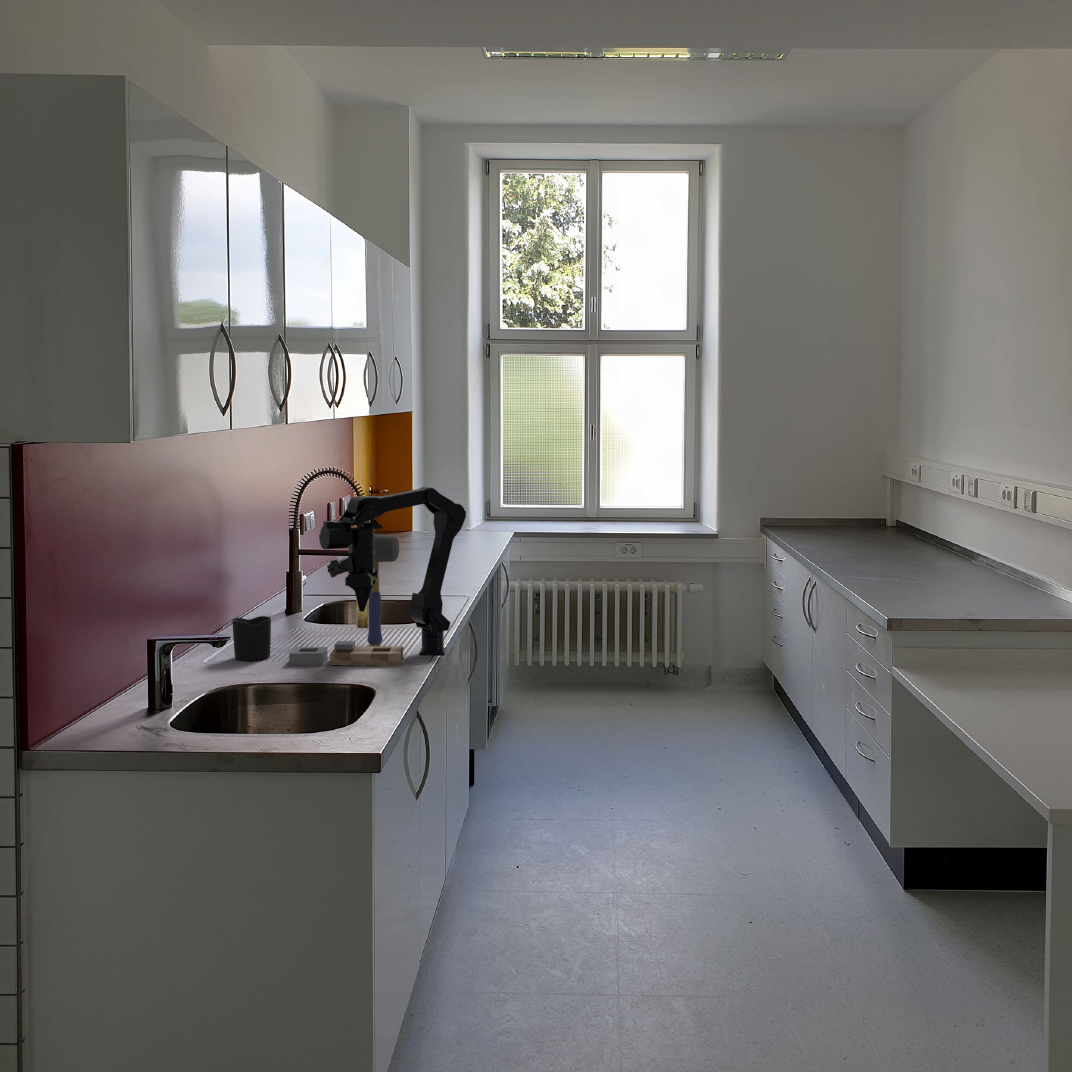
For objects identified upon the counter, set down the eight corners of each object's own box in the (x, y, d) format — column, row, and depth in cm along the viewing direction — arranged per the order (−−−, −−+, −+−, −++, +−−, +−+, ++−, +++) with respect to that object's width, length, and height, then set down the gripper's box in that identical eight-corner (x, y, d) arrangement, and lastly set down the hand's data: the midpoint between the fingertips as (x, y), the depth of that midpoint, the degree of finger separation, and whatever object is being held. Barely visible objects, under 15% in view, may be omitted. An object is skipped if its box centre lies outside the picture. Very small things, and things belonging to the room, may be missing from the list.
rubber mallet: (347, 647, 282) (346, 534, 279) (358, 641, 289) (356, 532, 286) (392, 649, 279) (391, 536, 276) (401, 643, 286) (400, 533, 283)
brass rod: (357, 626, 264) (357, 594, 264) (369, 626, 265) (369, 594, 264) (355, 628, 261) (355, 596, 261) (368, 628, 262) (368, 596, 261)
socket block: (335, 658, 268) (335, 646, 268) (403, 657, 269) (403, 646, 269) (330, 665, 259) (329, 653, 259) (399, 665, 260) (399, 653, 260)
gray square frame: (295, 658, 268) (295, 646, 267) (327, 658, 268) (327, 646, 268) (289, 665, 260) (289, 653, 259) (322, 665, 260) (322, 653, 260)
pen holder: (246, 653, 274) (246, 614, 273) (278, 655, 271) (278, 616, 270) (225, 660, 265) (224, 621, 264) (258, 663, 262) (257, 623, 261)
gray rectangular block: (337, 659, 266) (337, 640, 266) (355, 658, 266) (355, 640, 266) (334, 662, 262) (334, 644, 261) (352, 662, 262) (352, 644, 261)
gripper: (334, 543, 270) (335, 604, 272) (323, 551, 252) (324, 616, 253) (378, 543, 271) (379, 604, 272) (370, 551, 252) (371, 616, 253)
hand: (362, 610), depth 263 cm, fingers closed on brass rod, 3 cm apart
